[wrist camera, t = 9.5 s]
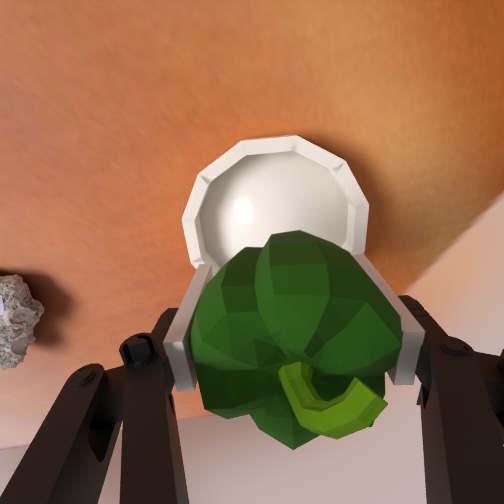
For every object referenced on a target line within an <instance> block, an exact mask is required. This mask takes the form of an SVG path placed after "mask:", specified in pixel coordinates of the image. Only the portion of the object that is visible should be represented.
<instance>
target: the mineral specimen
mask: <svg viewBox="0 0 504 504" xmlns="http://www.w3.org/2000/svg"><path fill="white" fill-rule="evenodd" d="M43 312H44V307H43V306H42V304H41V303H40V302H39V301H37V300H34V299H33V298H32V296H31V294H30V290H29V287H28V285H27V284H26V282H25V283H24V281H22V277H21V276H19V275H14V276H9V275H8V276H3V277H2V276H0V368H1V369H6V368H14V367H16V366H17V364H19V363H20V362H23V360H24V356H25V355H26V350H27V346H28V345H29V344H32V343H34V342H35V337H34V336H33V335H34V334H33V333H34V332H33V328H34V327H35V326H36V323H38V322H39V320H40V319H39V318H40V316H41V314H43Z"/></svg>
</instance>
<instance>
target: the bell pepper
mask: <svg viewBox="0 0 504 504" xmlns="http://www.w3.org/2000/svg"><path fill="white" fill-rule="evenodd" d="M189 345H190V349H191V353H192V358H193V362H194V366H195V370H196V375H197V379H198V384H199V388H200V392H201V397H202V401H203V405H204V409H205V410H207V411H210V412H212V413H214V414H216V415H219V416H221V417H223V418H226V419H230V418H234V417H238V416H243V415H247V414H250V416H251V417H252V419H253V420H254V422H255V423H256V425H257V426H258V428H259V429H260V430H261V431H263V432H265V433H267V434H268V435H270V436H271V437H273V438H274V439H276V440H278V441H279V442H281V443H283V444H284V445H286V446H288V447H289V448H291V449H292V450H294V449H296V448H297V447H299V446H301V445H303V444H305V443H307V442H309V441H310V440H312V439H314V438H316V437H318V436H319V435H324V436H327V437H331V438H334V439H339V438H341V437H344V436H347V435H349V434H352V433H354V432H356V431H359V430H362V429H364V428H367V427H372V425H373V423H374V420H375V419H376V418H377V417H378V415H379V414H380V413H381V412H382V411H383V410H384V408H385V407H386V406H387V405H388V403H387V402H386V401H385V400H383V398H384V395H385V372H387V371H388V370H390V369H392V368H393V367H395V365H396V362H397V359H398V356H399V353H400V350H401V347H402V331H401V317H400V315H399V314H398V313H397V311H396V310H395V309H394V307H393V306H392V305H391V303H390V302H389V301H388V299H387V298H386V297H385V295H384V294H383V293H382V291H381V290H380V289H379V287H378V286H377V285H376V284H375V283H374V281H373V280H372V279H371V278H370V277H369V275H368V274H367V273H366V272H365V270H364V269H363V268H362V267H361V266H360V264H359V263H358V262H357V261H356V260H355V258H354V257H353V256H352V255H351V254H350V252H349V251H347V250H345V249H343V248H341V247H340V246H338V245H336V244H334V243H332V242H330V241H327V240H325V239H322V238H320V237H317V236H314V235H312V234H309V233H307V232H304V231H302V230H295V231H289V232H282V233H276V234H271V236H270V237H269V239H268V240H267V242H266V244H265V245H264V247H244V248H243V249H242V250H241V251H239V252H238V253H237V254H236V255H235V256H234V257H232V258H231V259H230V260H229V261H228V262H227V263H226V264H225V265H224V266H223V267H222V268H221V269H220V270H219V271H218V272H217V273H216V275H215V276H214V277H213V278H212V279H211V280H210V281H209V283H208V284H207V285H206V288H205V290H204V293H203V295H202V298H201V300H200V303H199V305H198V308H197V310H196V313H195V317H194V321H193V325H192V329H191V333H190V337H189Z"/></svg>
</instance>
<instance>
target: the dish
mask: <svg viewBox="0 0 504 504" xmlns="http://www.w3.org/2000/svg"><path fill="white" fill-rule="evenodd" d="M368 212H369V204H368V202H367V200H366V198H365V196H364V194H363V192H362V191H361V189H360V187H359V185H358V183H357V181H356V179H355V177H354V176H353V174H352V172H351V170H350V168H349V166H348V164H347V163H346V161H345V160H343V159H341V158H339V157H337V156H336V155H334V154H332V153H330V152H328V151H326V150H324V149H322V148H320V147H318V146H316V145H314V144H312V143H311V142H309V141H307V140H305V139H303V138H301V137H299V136H297V135H294V134H293V135H282V136H272V137H261V138H251V139H243V140H241V141H240V142H239V143H238V144H236V145H235V146H234V147H232V148H231V149H230V150H228V151H227V152H226V153H225V154H223V155H222V156H221V157H219V158H218V159H217V160H215V161H214V162H213V163H212V164H210V165H209V166H208V167H206V168H205V169H204V170H202V171H201V172H200V173H199V174H198V176H197V179H196V181H195V184H194V187H193V190H192V192H191V195H190V198H189V201H188V203H187V206H186V209H185V212H184V214H183V217H182V223H183V228H184V233H185V238H186V243H187V247H188V252H189V257H190V262H191V264H192V265H193V266H194V267H195V268H196V269H197V268H198V266H199V264H209V263H212V269H213V275H214V276H215V275H216V273H217V272H218V271H219V270H220V269H221V268H222V267H223V266H224V265H225V264H226V263H227V262H228V261H229V260H230V259H231V258H232V257H234V256H235V255H236V254H237V253H238V252H239V251H241V250H242V249H243V248H244V247H264V245H265V244H266V242H267V240H268V239H269V237H270V236H271V234H276V233H282V232H289V231H295V230H302V231H304V232H307V233H309V234H312V235H314V236H317V237H320V238H322V239H325V240H327V241H330V242H332V243H334V244H336V245H338V246H340V247H341V248H343V249H345V250H347V251H349V252H350V254H363V253H364V252H365V243H366V233H367V223H368Z"/></svg>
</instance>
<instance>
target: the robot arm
mask: <svg viewBox="0 0 504 504" xmlns="http://www.w3.org/2000/svg"><path fill="white" fill-rule="evenodd" d="M351 255H352V256H353V257H354V258H355V260H356V261H357V262H358V263H359V264H360V266H361V267H362V268H363V269H364V270H365V272H366V273H367V274H368V275H369V277H370V278H371V279H372V280H373V281H374V283H375V284H376V285H377V286H378V287H379V289H380V290H381V291H382V293H383V294H384V295H385V297H386V298H387V299H388V301H389V302H390V303H391V305H392V306H393V307H394V309H395V310H396V311H397V313H398V314H399V315H400V317H401V331H402V347H401V350H400V353H399V356H398V359H397V362H396V365H395V367H393V368H392V369H390V370H388V371H387V373H388V375H389V377H390V379H391V381H392V382H393V385H413V383H414V379H415V375H417V377H418V378H419V380H420V382H421V383H422V384H421V388H420V392H419V396H418V400H417V405H421V421H422V436H423V450H424V467H425V483H426V497H427V504H504V446H503V445H504V349H503V350H502V353H501V355H500V356H497V355H491V354H485V353H480V352H475V351H474V350H473V349H472V347H470V346H469V345H468V344H467V343H466V342H464V341H462V340H460V339H457V338H454V337H451V336H448V335H447V334H446V332H445V331H444V330H443V329H442V328H441V327H440V326H439V325H438V323H437V322H436V321H435V320H434V319H433V318H432V317H431V316H430V315H429V313H428V312H427V311H426V310H424V308H423V306H422V305H421V304H420V303H419V302H418V301H417V300H415V299H413V298H411V297H410V296H408V295H403V296H397V295H396V294H395V293H394V291H393V290H392V289H391V287H390V286H389V285H388V284H387V282H386V281H385V280H384V279H383V277H382V276H381V275H380V274H379V272H378V271H377V270H376V268H375V267H374V266H373V265H372V263H371V262H370V261H369V260H368V258H367V257H366V256H365V255H364V254H351ZM213 277H214V275H213V269H212V263H209V264H199V266H198V268H197V270H196V272H195V274H194V276H193V279H192V281H191V283H190V285H189V287H188V289H187V292H186V294H185V296H184V298H183V300H182V302H181V305H180V307H179V308H168V309H167V310H166V311H165V312H164V313H163V314H161V316H160V318H159V319H158V321H157V324H156V325H155V327H154V329H153V330H152V332H151V334H150V333H139V334H135V335H133V336H131V337H129V338H128V339H126V340H125V341H124V342H123V343H122V344H121V345H120V348H119V352H120V355H121V357H122V360H123V362H124V365H122V366H120V367H116V368H113V369H109V370H106V371H105V370H104V368H103V366H102V365H100V364H98V363H96V364H89V365H86V366H83V367H82V368H80V369H78V370H76V371H75V372H74V373H73V374H72V375H71V376H70V377H69V378H68V380H67V381H66V383H65V385H64V386H63V388H62V390H61V392H60V393H59V395H58V397H57V399H56V400H55V402H54V404H53V406H52V407H51V409H50V411H49V413H48V414H47V416H46V418H45V420H44V421H43V423H42V425H41V427H40V428H39V430H38V432H37V434H36V435H35V437H34V439H33V441H32V442H31V444H30V446H29V448H28V449H27V451H26V453H25V455H24V456H23V458H22V460H21V462H20V464H19V465H18V467H17V469H16V470H15V472H14V474H13V476H12V478H11V479H10V481H9V483H8V484H7V486H6V488H5V490H4V491H3V493H2V495H1V497H0V504H98V500H99V497H100V493H101V490H102V487H103V484H104V480H105V477H106V474H107V470H108V467H109V463H110V460H111V457H112V454H113V450H114V447H115V443H116V440H117V437H118V434H119V430H120V427H121V424H122V421H123V430H122V455H121V457H122V458H121V481H120V483H121V484H120V504H189V499H188V492H187V486H186V479H185V472H184V466H183V459H182V452H181V446H180V439H179V433H178V426H177V420H176V413H175V406H174V400H173V396H172V393H171V392H172V389H173V386H174V383H175V385H176V389H177V391H195V388H196V384H197V380H198V379H197V375H196V370H195V366H194V362H193V358H192V353H191V349H190V345H189V337H190V333H191V329H192V325H193V321H194V317H195V313H196V310H197V308H198V305H199V303H200V300H201V298H202V295H203V293H204V290H205V288H206V285H207V284H208V283H209V281H210V280H211V279H212V278H213Z"/></svg>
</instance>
